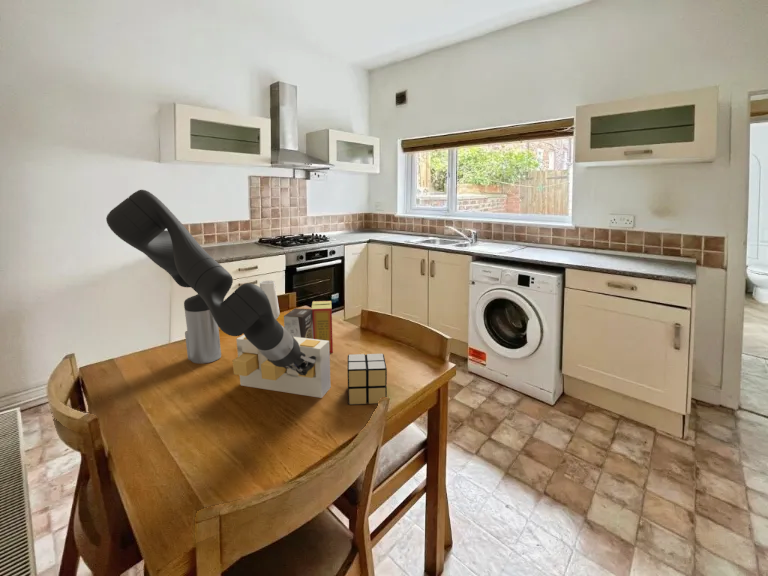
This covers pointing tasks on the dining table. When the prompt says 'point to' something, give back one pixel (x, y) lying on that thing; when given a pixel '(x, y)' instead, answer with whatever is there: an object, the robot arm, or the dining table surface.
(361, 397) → the puzzle cube
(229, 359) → the dining table surface
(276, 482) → the dining table surface
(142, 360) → the dining table surface
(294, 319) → the coffee box
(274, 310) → the champagne flute
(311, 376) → the button
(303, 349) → the block
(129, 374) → the dining table surface
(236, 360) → the button
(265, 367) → the button
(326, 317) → the baking soda box
